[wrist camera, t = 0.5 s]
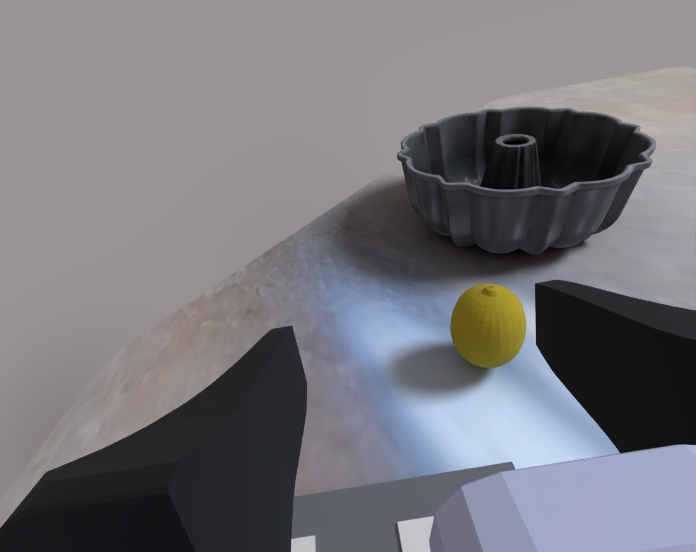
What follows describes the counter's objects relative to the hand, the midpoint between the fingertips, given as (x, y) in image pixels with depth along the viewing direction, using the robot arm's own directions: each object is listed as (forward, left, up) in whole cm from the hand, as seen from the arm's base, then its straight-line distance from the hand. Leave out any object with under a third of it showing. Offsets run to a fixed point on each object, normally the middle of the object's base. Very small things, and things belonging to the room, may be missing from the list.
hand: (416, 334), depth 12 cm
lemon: (+13, -8, -19) cm, 25 cm away
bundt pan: (+35, -19, -19) cm, 45 cm away
